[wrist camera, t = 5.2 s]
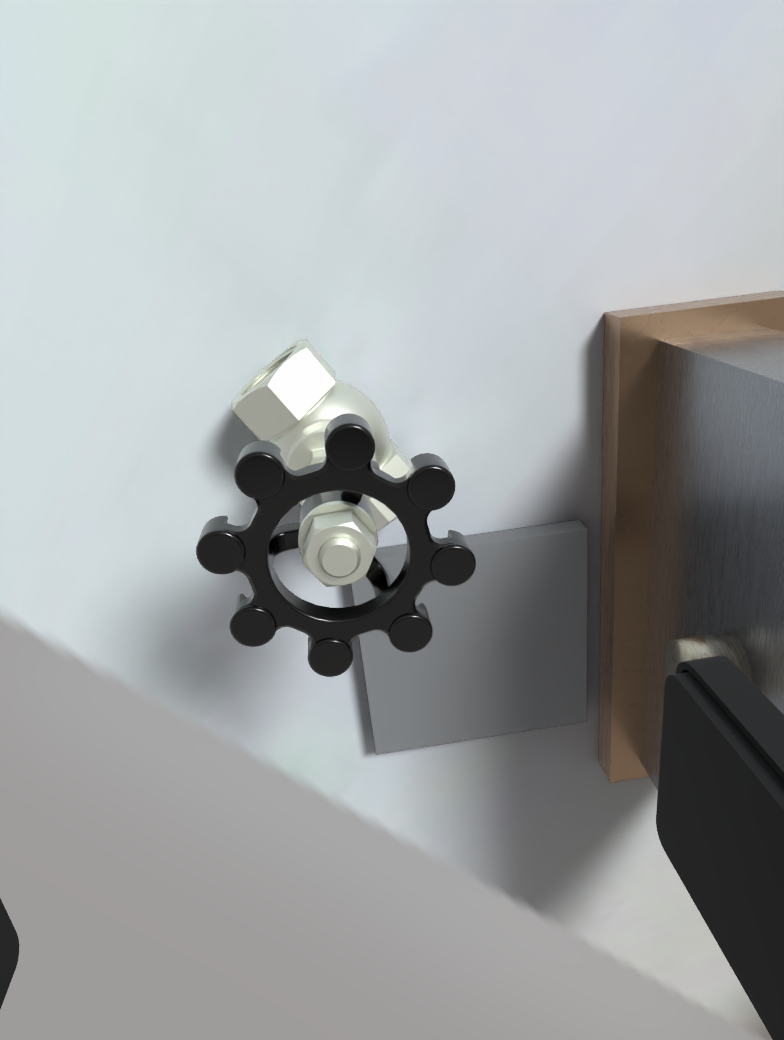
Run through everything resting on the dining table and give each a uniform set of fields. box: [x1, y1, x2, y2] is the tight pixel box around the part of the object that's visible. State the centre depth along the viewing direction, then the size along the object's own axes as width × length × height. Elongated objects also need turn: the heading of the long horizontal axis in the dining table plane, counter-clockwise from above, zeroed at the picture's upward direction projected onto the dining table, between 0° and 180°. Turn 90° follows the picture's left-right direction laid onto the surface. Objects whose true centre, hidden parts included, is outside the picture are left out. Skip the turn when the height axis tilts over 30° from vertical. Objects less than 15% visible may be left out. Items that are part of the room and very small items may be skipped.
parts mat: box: [351, 520, 587, 755], centre depth 32 cm, size 10×10×1 cm
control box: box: [599, 291, 784, 790], centre depth 24 cm, size 7×22×16 cm, turn 6°
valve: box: [196, 339, 476, 677], centre depth 22 cm, size 7×7×12 cm
